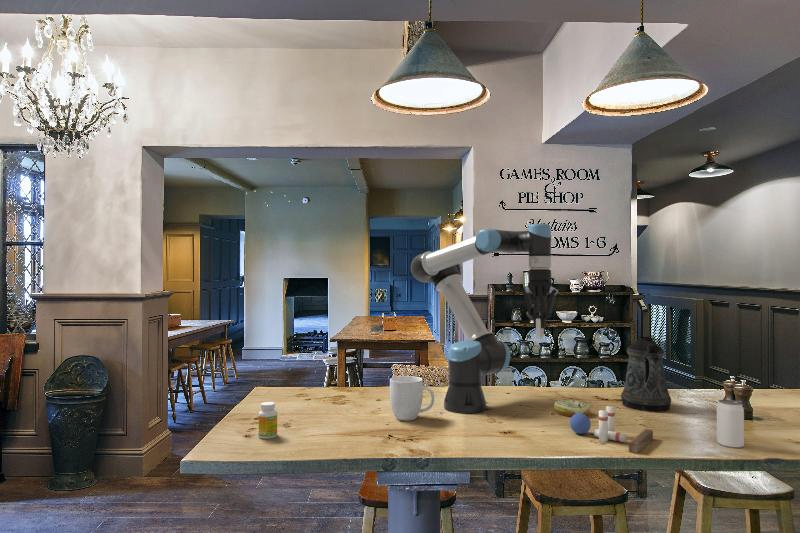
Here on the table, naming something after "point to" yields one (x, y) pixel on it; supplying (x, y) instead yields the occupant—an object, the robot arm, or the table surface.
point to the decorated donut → (571, 407)
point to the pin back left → (611, 418)
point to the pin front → (613, 436)
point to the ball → (580, 423)
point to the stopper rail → (640, 441)
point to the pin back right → (603, 426)
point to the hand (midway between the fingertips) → (539, 337)
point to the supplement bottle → (267, 421)
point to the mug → (408, 397)
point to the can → (730, 423)
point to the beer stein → (645, 378)
